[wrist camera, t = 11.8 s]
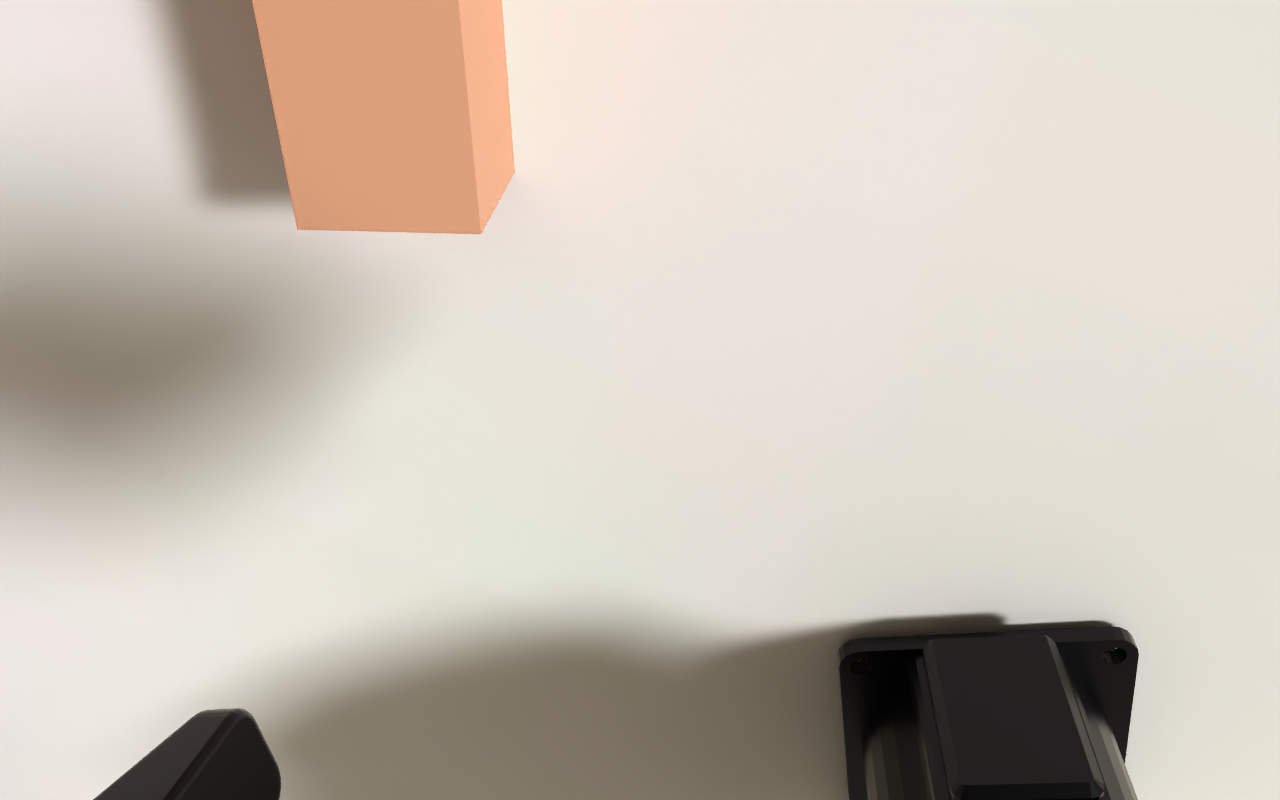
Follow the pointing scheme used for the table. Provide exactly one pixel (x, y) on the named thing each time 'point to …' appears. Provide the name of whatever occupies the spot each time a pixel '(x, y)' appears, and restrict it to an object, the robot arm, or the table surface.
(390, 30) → the salmon orange bar
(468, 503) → the table surface
